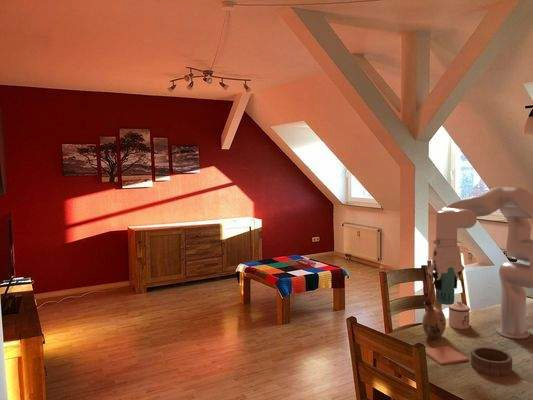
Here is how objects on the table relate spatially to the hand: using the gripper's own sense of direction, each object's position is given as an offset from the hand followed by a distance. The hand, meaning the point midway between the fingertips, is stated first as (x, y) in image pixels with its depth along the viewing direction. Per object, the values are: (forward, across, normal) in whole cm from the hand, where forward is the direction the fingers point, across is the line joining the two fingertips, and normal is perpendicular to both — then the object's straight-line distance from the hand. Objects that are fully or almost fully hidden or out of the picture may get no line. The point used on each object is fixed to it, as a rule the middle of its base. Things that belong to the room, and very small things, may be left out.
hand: (445, 288), depth 167 cm
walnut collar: (+27, +10, -13) cm, 32 cm away
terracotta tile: (+27, 0, 0) cm, 27 cm away
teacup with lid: (+28, +27, +26) cm, 46 cm away
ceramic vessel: (+27, +7, +17) cm, 33 cm away
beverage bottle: (+7, 0, 0) cm, 7 cm away
